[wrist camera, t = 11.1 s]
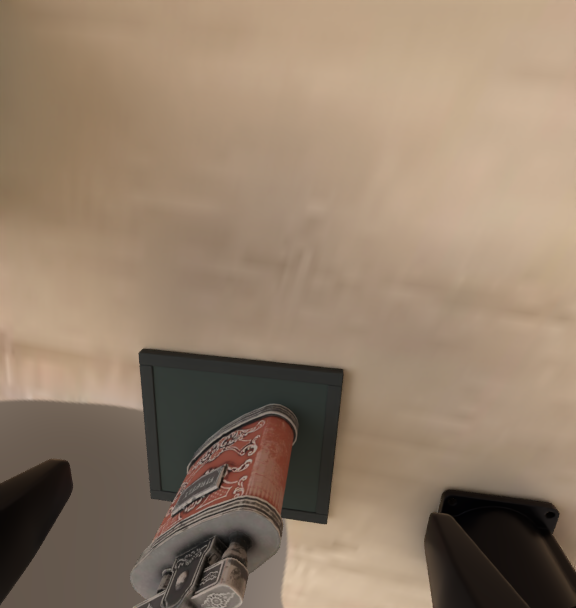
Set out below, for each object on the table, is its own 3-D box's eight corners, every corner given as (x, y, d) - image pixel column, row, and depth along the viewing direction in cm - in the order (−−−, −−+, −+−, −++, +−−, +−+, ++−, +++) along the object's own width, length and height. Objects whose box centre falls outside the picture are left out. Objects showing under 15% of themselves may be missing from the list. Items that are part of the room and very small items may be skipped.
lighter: (274, 391, 21) (225, 557, 12) (310, 432, 22) (291, 623, 12) (180, 455, 23) (75, 637, 14) (215, 491, 24) (136, 689, 14)
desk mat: (343, 368, 21) (343, 374, 20) (327, 517, 24) (326, 524, 23) (143, 348, 22) (138, 352, 21) (154, 491, 25) (150, 499, 25)
